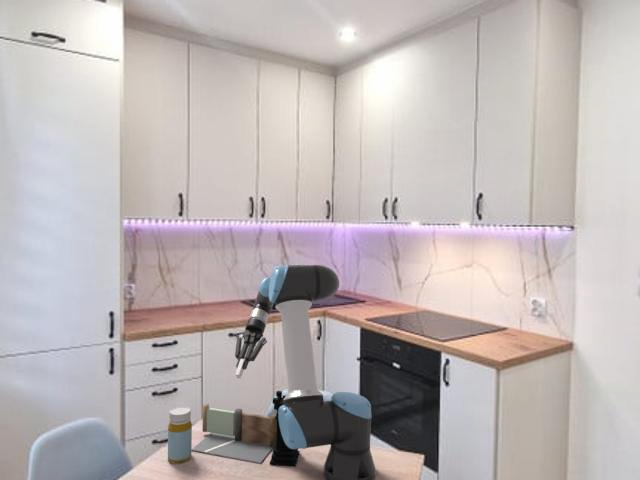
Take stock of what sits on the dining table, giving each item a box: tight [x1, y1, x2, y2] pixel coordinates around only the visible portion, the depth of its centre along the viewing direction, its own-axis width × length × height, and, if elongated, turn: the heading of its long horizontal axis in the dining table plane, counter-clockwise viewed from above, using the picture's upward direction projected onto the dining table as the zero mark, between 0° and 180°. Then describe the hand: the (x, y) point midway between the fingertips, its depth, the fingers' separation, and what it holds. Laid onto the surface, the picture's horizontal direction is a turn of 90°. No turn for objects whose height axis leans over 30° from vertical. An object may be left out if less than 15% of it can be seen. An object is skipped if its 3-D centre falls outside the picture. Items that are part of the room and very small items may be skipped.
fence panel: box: [201, 403, 235, 436], centre depth 152 cm, size 12×2×9 cm, turn 74°
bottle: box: [167, 406, 193, 465], centre depth 137 cm, size 7×7×15 cm
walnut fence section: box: [234, 408, 277, 447], centre depth 148 cm, size 15×2×10 cm, turn 74°
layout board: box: [191, 432, 274, 465], centre depth 147 cm, size 24×16×1 cm, turn 74°
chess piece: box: [269, 390, 301, 468], centre depth 138 cm, size 8×8×20 cm
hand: (237, 376), depth 166 cm, fingers closed
